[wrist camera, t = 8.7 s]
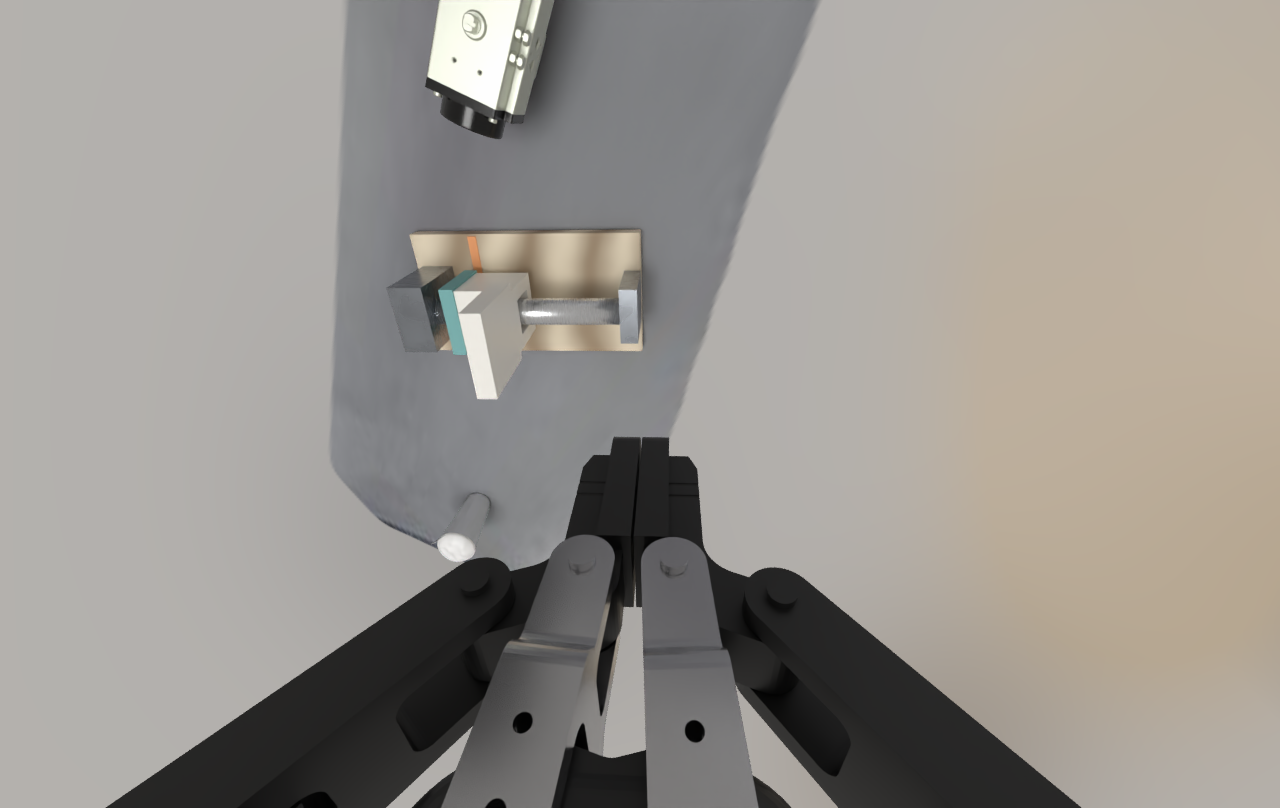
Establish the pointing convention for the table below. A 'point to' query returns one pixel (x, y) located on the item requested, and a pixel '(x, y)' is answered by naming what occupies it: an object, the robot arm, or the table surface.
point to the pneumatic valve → (487, 60)
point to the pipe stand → (532, 286)
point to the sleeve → (493, 328)
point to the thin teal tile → (454, 311)
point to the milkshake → (465, 529)
